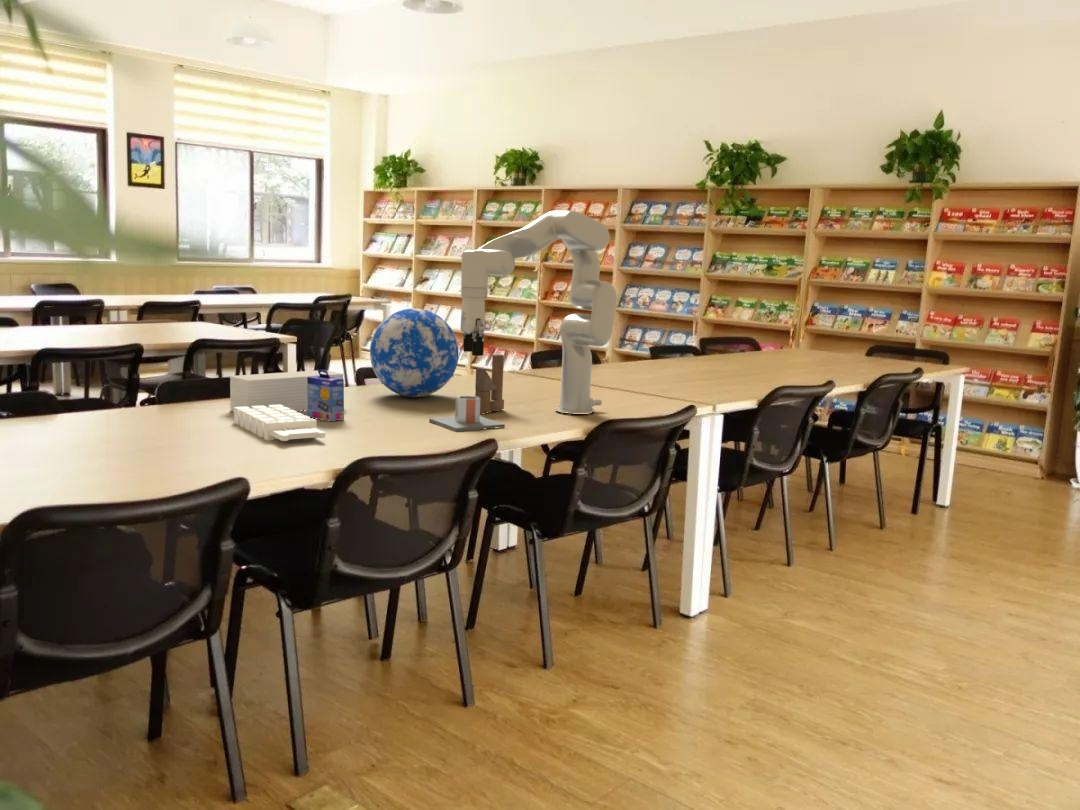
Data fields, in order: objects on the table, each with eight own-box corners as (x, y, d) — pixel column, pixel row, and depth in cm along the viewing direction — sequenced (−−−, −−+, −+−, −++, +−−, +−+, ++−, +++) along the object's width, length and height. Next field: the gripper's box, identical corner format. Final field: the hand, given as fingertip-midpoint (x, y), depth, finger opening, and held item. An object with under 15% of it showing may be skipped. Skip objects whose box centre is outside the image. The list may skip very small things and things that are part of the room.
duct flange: (476, 418, 286) (477, 398, 285) (504, 427, 273) (505, 407, 272) (429, 421, 277) (429, 401, 276) (456, 431, 264) (456, 410, 263)
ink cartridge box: (305, 417, 275) (306, 368, 272) (319, 415, 279) (319, 366, 277) (331, 422, 270) (331, 371, 267) (344, 419, 274) (345, 370, 272)
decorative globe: (359, 391, 329) (360, 304, 325) (440, 389, 342) (443, 306, 337) (382, 405, 303) (384, 311, 298) (469, 402, 315) (472, 312, 310)
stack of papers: (247, 417, 273) (247, 380, 271) (230, 411, 280) (230, 375, 279) (342, 408, 295) (343, 373, 294) (324, 403, 303) (324, 369, 301)
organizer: (280, 404, 269) (329, 425, 241) (280, 421, 270) (328, 443, 242) (233, 407, 262) (278, 429, 234) (234, 424, 263) (278, 448, 235)
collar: (453, 419, 277) (454, 395, 276) (475, 419, 279) (476, 395, 278) (459, 423, 271) (459, 399, 270) (481, 423, 273) (482, 399, 272)
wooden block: (474, 413, 296) (476, 355, 293) (495, 409, 304) (497, 353, 301) (483, 414, 293) (485, 356, 291) (504, 410, 302) (506, 354, 299)
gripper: (454, 291, 277) (453, 350, 280) (469, 295, 261) (468, 357, 264) (478, 292, 279) (477, 349, 282) (495, 295, 263) (494, 357, 266)
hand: (473, 353), depth 273 cm, fingers open, 9 cm apart
